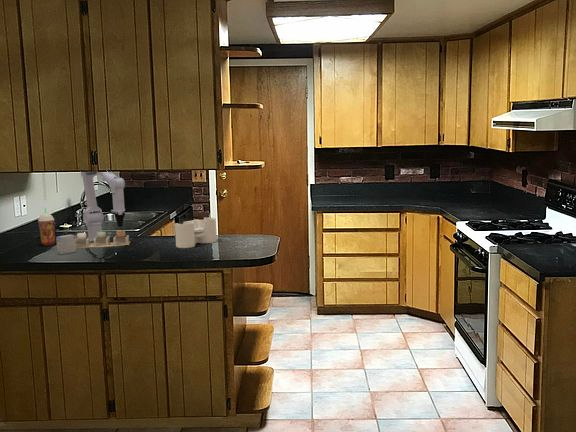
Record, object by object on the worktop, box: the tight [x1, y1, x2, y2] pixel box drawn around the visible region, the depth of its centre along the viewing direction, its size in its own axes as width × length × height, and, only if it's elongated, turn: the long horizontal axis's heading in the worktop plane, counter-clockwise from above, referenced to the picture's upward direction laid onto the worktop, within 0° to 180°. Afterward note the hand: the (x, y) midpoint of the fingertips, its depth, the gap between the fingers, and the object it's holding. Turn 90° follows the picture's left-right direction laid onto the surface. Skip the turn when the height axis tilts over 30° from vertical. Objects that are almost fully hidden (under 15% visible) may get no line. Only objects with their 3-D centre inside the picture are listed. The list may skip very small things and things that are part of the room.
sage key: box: [97, 231, 107, 239], centre depth 325 cm, size 4×4×4 cm
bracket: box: [174, 217, 218, 249], centre depth 319 cm, size 25×10×12 cm, turn 144°
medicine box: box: [55, 234, 77, 256], centre depth 307 cm, size 8×4×9 cm, turn 141°
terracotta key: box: [115, 230, 126, 238], centre depth 326 cm, size 4×4×4 cm
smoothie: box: [37, 207, 56, 246], centre depth 333 cm, size 8×8×20 cm
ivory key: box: [76, 232, 87, 240], centre depth 323 cm, size 4×4×4 cm
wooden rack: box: [75, 234, 131, 250], centre depth 325 cm, size 12×28×4 cm, turn 100°
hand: (120, 226), depth 326 cm, fingers closed
